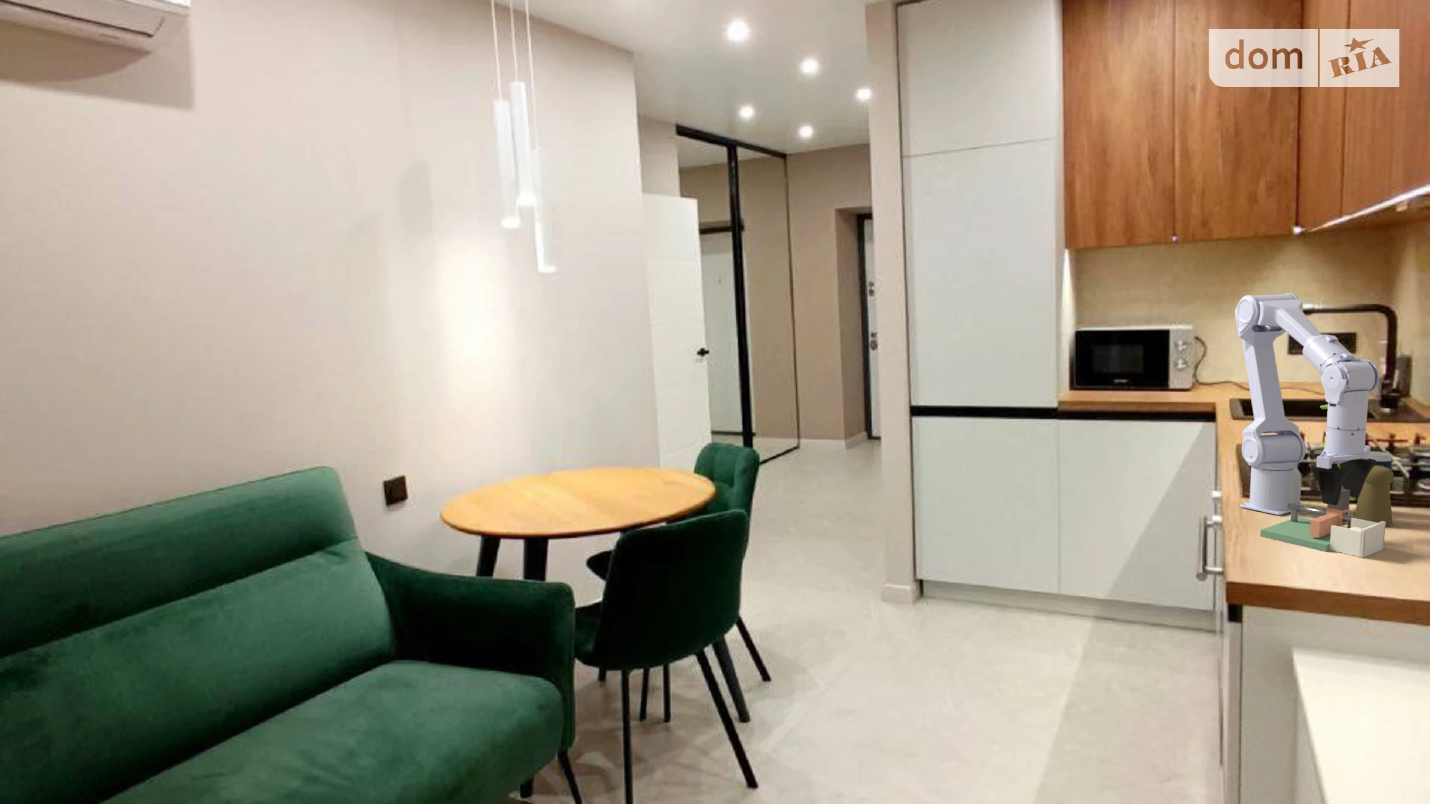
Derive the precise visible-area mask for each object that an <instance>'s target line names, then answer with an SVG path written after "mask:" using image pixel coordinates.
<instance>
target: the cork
mask: <svg viewBox="0 0 1430 804" xmlns="http://www.w3.org/2000/svg"><path fill="white" fill-rule="evenodd" d="M1394 475H1395V474H1394V472H1393V471H1392V469H1391V470H1390V469H1389V468H1386V467H1382V466H1374V467H1373V468H1372V469H1371V471H1370V472H1369V474H1368V476H1367V478H1366V480H1365V482H1364V485H1363V488H1362V490H1361V493H1360V495H1359V497H1358V498H1357V502H1356V506H1355V511H1354V514H1353V516H1356V517H1357V519H1361V520H1366V521H1371V522H1376V523H1379V522H1381V521H1384V522H1386V524H1385V528H1388V527H1392V526H1393V513H1392V512H1393V511H1392V503H1391V490H1390V489H1389V485H1390V486H1391V484H1392V483H1393V480H1394Z"/></svg>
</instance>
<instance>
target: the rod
mask: <svg viewBox="0 0 1430 804" xmlns="http://www.w3.org/2000/svg"><path fill="white" fill-rule="evenodd" d="M1288 509H1290V510H1291V512H1290V519H1291V521H1292V522H1297V520H1298V517H1299V513H1306V514H1311V515H1316V516H1318V517H1321V516H1323V515H1326V514H1327V509H1321V508H1315V507H1311V506H1307V505H1305V506H1302V505H1297V504H1292V503H1289V504H1288ZM1351 518H1356V519H1357V517H1356V516H1354V515H1351V514H1349V515H1347V514H1343V517H1342V520H1343V521H1348V524H1347V527H1348V529H1349V528H1351Z"/></svg>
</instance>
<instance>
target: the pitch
mask: <svg viewBox="0 0 1430 804" xmlns="http://www.w3.org/2000/svg"><path fill="white" fill-rule="evenodd" d="M1311 520H1312V519H1310V518H1305V517H1300V516H1298V520H1297V522H1292V521H1291V518H1290V519H1288V520H1284V521H1281V522H1279V523H1276V524H1272V525H1270V526H1267V527H1264V528H1262V529H1260V537H1264V538H1268V539H1273V540H1277V541H1280V542H1285V543H1290V544H1291V545H1292V544H1293V545H1297V546H1302V547H1305V548H1310V549H1314V550H1317V549H1318V551H1322V552H1328V550H1329V551H1331V550H1330V536H1331V533H1330V534H1328V535H1325V536H1322V537H1320V538H1317V537H1312V536H1310V525H1311ZM1341 527H1344V528H1348V526H1345V525H1344V526H1341Z"/></svg>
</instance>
